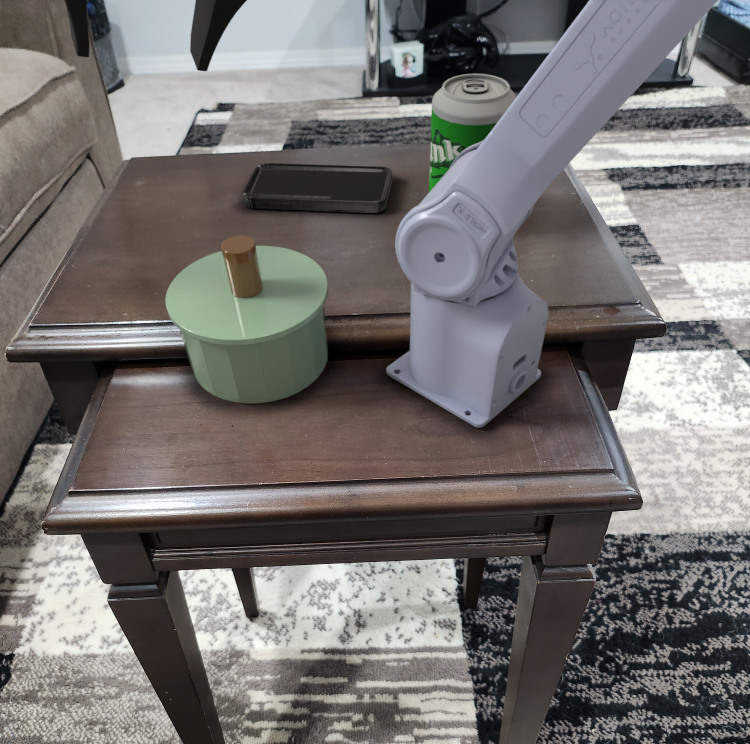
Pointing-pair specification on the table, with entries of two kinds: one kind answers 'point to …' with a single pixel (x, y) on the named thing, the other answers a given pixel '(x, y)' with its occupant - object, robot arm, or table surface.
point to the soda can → (464, 117)
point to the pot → (261, 364)
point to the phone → (319, 187)
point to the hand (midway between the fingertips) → (141, 54)
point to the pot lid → (246, 293)
